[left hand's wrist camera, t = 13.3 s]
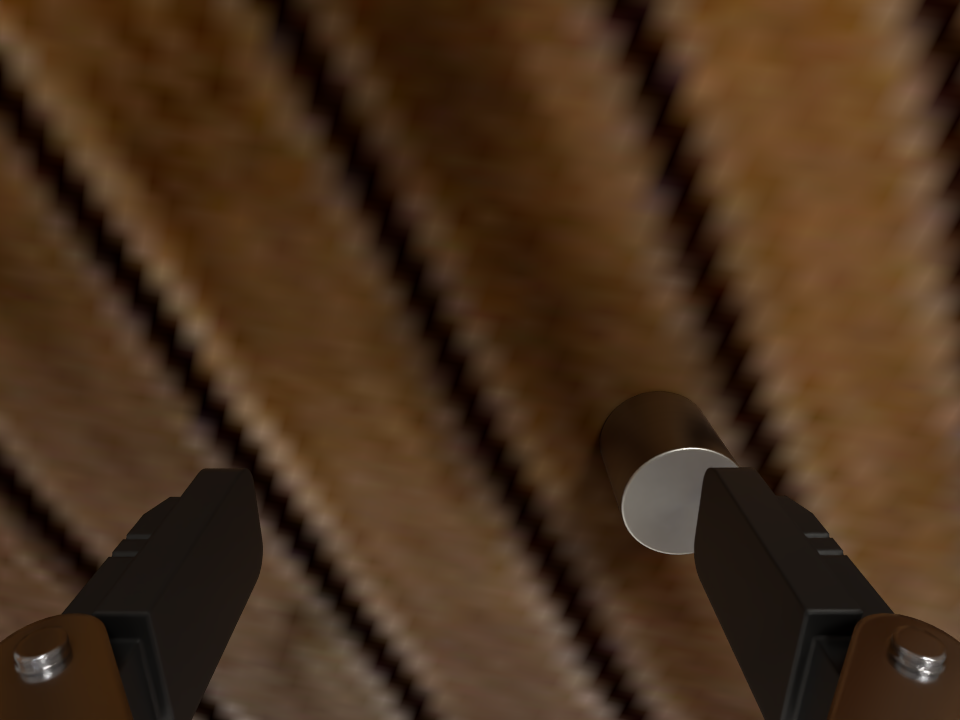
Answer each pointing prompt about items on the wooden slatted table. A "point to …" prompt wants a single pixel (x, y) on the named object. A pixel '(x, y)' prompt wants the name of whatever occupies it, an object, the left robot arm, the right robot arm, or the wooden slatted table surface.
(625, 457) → the can
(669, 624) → the wooden slatted table surface
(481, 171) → the wooden slatted table surface
